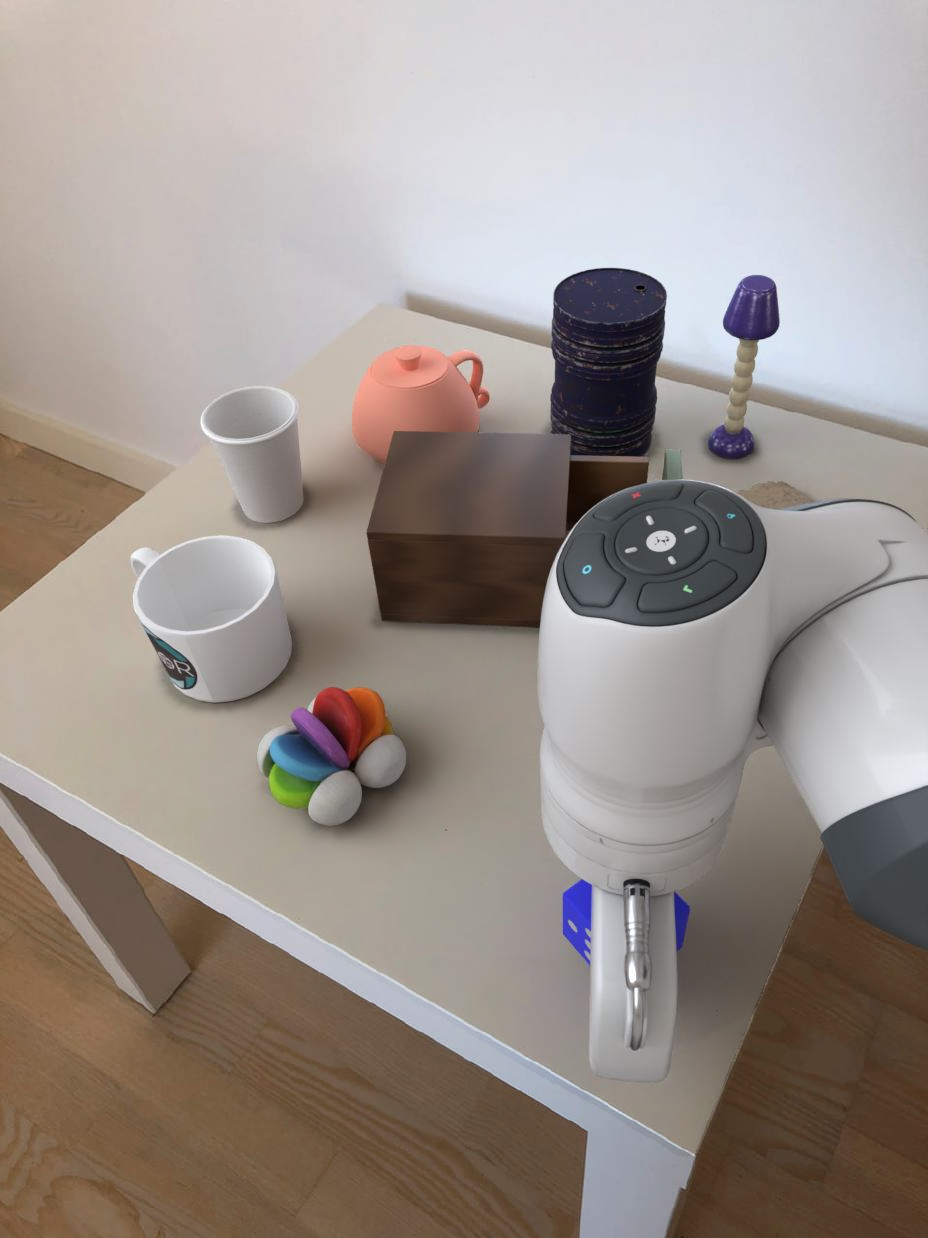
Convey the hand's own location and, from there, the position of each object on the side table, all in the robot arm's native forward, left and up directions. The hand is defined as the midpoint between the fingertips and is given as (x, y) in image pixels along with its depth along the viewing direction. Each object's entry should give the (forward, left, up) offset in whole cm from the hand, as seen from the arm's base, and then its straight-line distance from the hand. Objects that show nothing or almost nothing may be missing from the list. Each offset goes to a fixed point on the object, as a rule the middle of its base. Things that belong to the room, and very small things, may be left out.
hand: (621, 926), depth 54 cm
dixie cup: (+32, -40, -4) cm, 51 cm away
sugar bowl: (+19, -50, -4) cm, 54 cm away
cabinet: (+12, -32, -4) cm, 35 cm away
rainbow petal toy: (+20, -11, -4) cm, 23 cm away
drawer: (0, -32, -3) cm, 33 cm away
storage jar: (+2, -51, -4) cm, 52 cm away
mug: (+32, -22, -4) cm, 39 cm away
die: (0, 0, -2) cm, 2 cm away
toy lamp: (-10, -50, -4) cm, 52 cm away
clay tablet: (-12, -36, -4) cm, 39 cm away
